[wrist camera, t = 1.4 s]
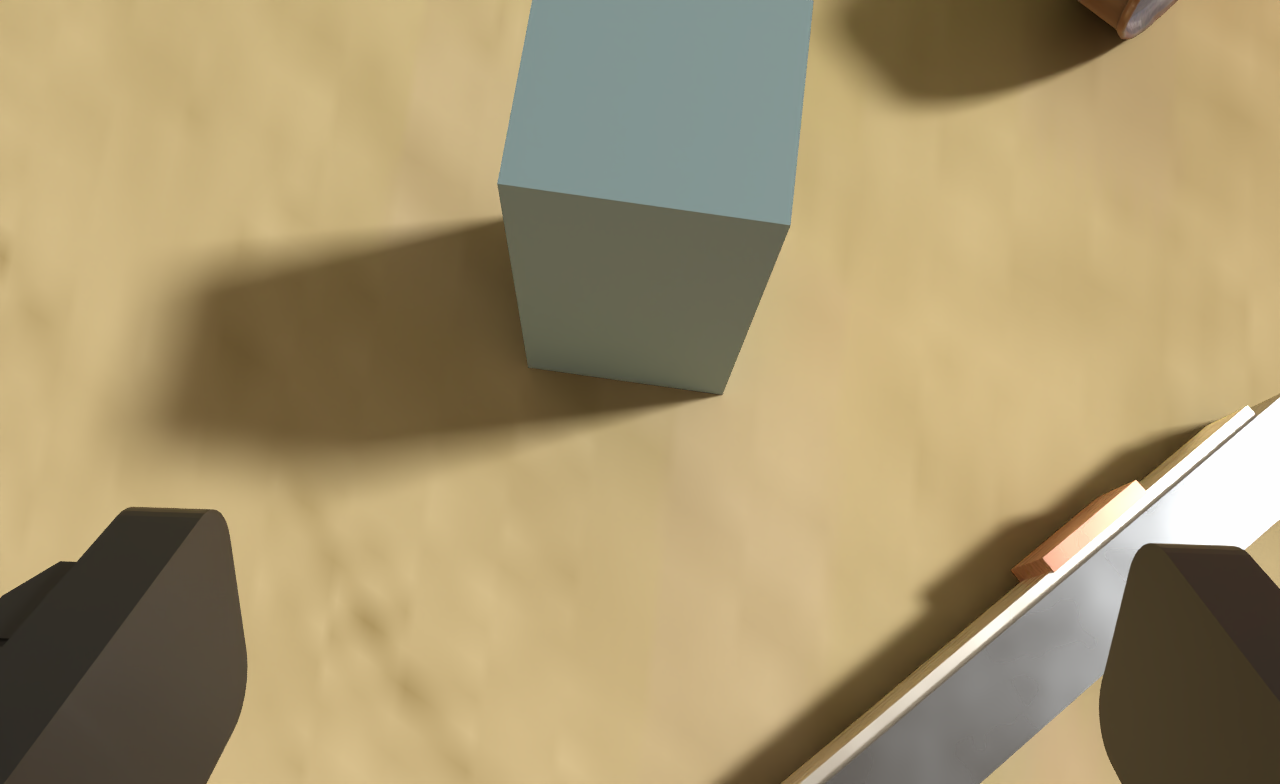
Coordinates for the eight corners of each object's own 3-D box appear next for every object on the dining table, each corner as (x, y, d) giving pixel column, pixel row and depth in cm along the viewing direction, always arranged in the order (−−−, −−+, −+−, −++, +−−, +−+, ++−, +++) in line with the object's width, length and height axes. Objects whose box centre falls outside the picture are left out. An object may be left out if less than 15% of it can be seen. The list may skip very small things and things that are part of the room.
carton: (528, 367, 28) (497, 184, 19) (555, 208, 30) (539, -39, 20) (725, 395, 28) (794, 225, 19) (744, 235, 30) (818, 1, 20)
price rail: (740, 955, 25) (756, 980, 22) (667, 853, 25) (675, 866, 23) (1287, 477, 28) (1352, 454, 26) (1213, 397, 29) (1270, 367, 26)
